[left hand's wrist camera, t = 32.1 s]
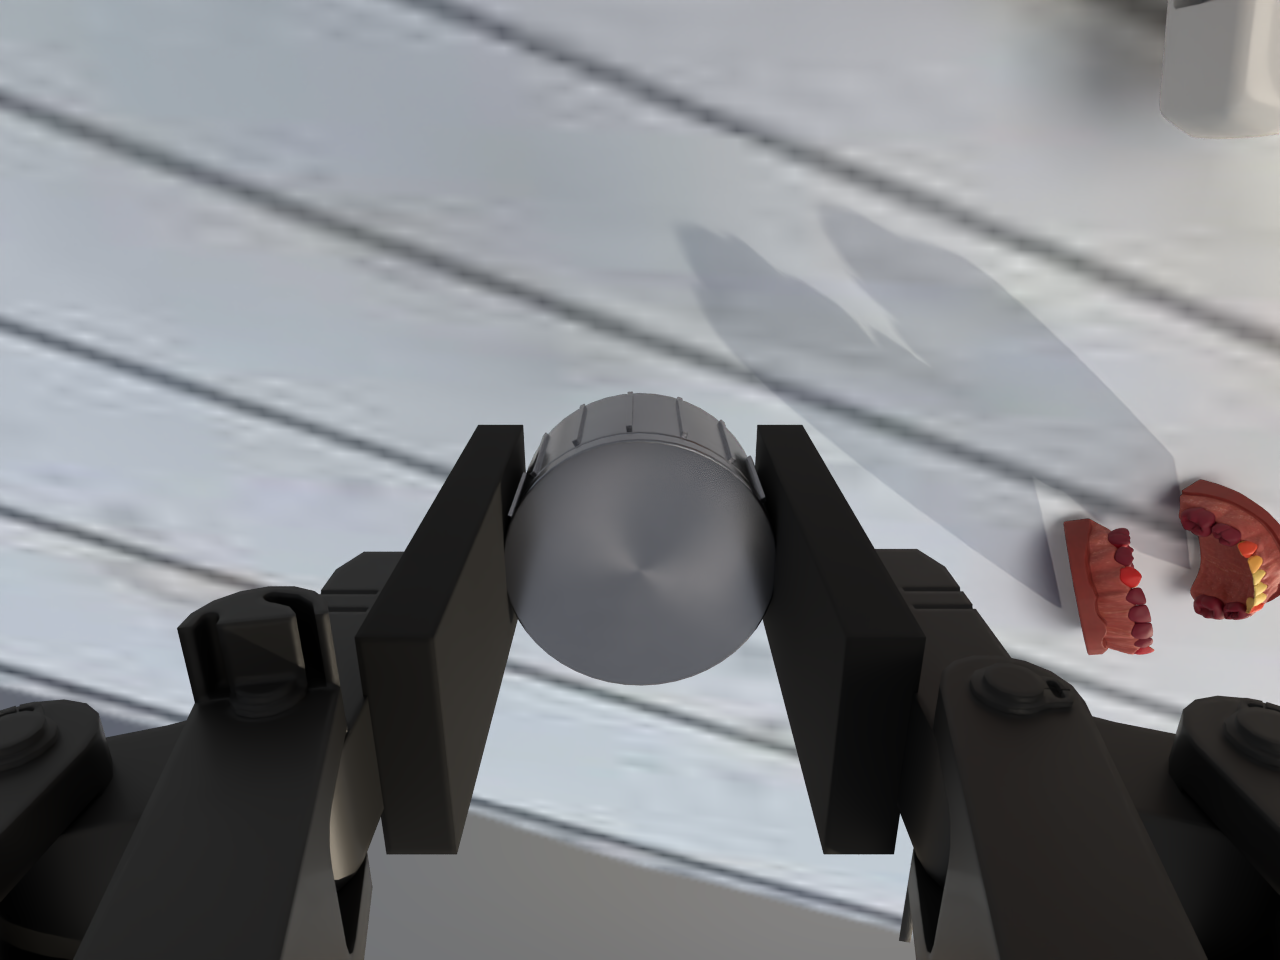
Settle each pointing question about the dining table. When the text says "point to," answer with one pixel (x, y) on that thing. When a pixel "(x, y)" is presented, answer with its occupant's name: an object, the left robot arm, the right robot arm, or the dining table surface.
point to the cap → (640, 542)
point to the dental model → (1224, 588)
